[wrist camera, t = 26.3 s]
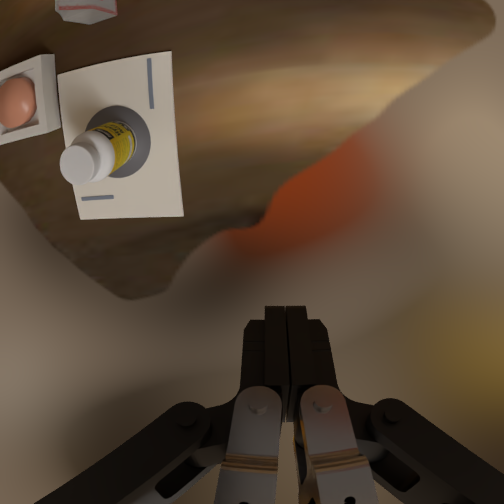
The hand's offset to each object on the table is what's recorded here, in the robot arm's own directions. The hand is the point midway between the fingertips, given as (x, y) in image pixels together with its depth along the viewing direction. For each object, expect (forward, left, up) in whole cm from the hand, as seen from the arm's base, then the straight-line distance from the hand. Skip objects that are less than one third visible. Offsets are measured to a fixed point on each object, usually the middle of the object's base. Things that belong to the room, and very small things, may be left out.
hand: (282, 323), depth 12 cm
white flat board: (-2, -18, -27) cm, 33 cm away
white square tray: (-10, -31, -27) cm, 42 cm away
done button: (-10, -31, -25) cm, 41 cm away
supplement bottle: (-2, -18, -27) cm, 32 cm away
